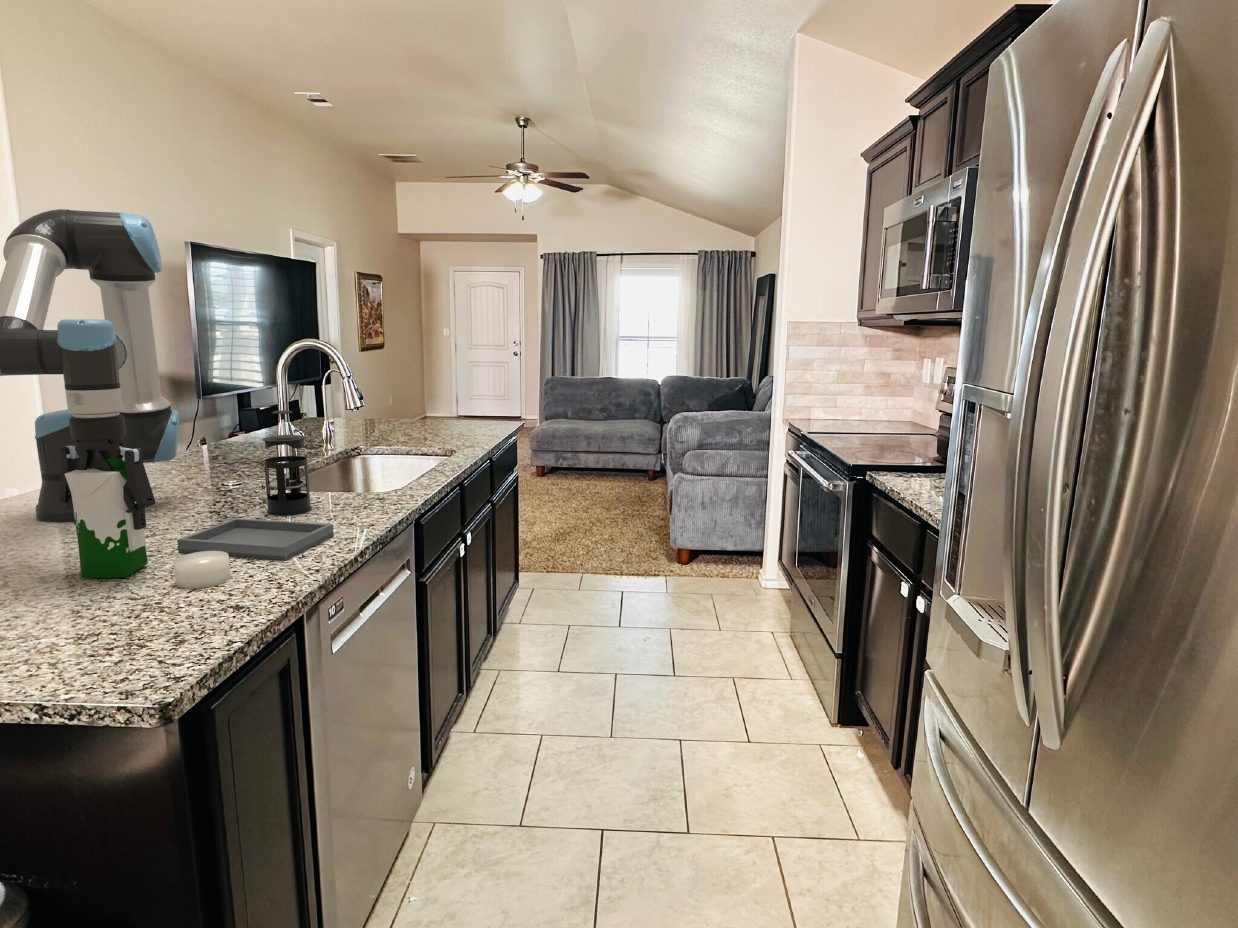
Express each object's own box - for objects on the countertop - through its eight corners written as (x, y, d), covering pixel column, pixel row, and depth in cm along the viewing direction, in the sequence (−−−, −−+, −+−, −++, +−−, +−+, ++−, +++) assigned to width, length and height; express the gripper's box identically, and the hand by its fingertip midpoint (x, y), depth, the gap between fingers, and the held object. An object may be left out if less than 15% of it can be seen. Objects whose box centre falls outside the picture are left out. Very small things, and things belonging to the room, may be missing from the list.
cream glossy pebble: (164, 587, 121) (161, 563, 120) (199, 571, 129) (197, 549, 128) (207, 590, 120) (205, 567, 119) (241, 574, 127) (239, 552, 127)
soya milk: (128, 579, 123) (114, 461, 119) (71, 579, 123) (55, 461, 119) (156, 562, 132) (144, 451, 128) (102, 562, 131) (89, 451, 127)
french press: (304, 516, 165) (297, 413, 161) (259, 517, 164) (251, 413, 159) (318, 503, 176) (312, 407, 172) (277, 504, 175) (269, 407, 171)
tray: (178, 552, 138) (177, 539, 138) (236, 529, 154) (235, 517, 153) (285, 560, 135) (284, 547, 134) (333, 536, 150) (332, 524, 150)
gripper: (18, 414, 120) (37, 547, 125) (135, 420, 116) (151, 556, 121) (60, 409, 127) (77, 535, 132) (172, 414, 124) (185, 543, 128)
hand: (112, 545), depth 126 cm, fingers closed on soya milk, 9 cm apart
